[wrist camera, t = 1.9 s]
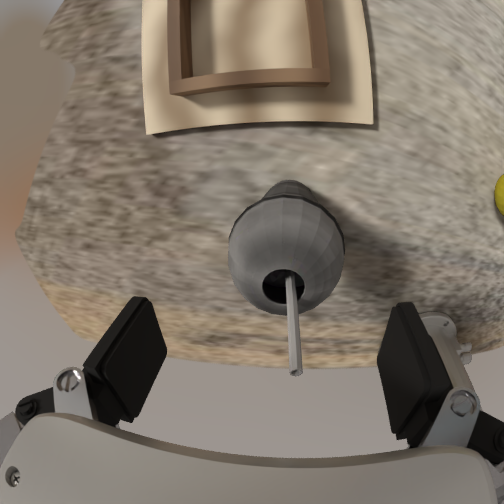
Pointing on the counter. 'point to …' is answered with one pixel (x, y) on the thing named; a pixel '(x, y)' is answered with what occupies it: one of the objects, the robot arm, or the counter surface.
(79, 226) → the counter surface
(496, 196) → the lemon
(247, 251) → the beverage cup
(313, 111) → the cup holder
